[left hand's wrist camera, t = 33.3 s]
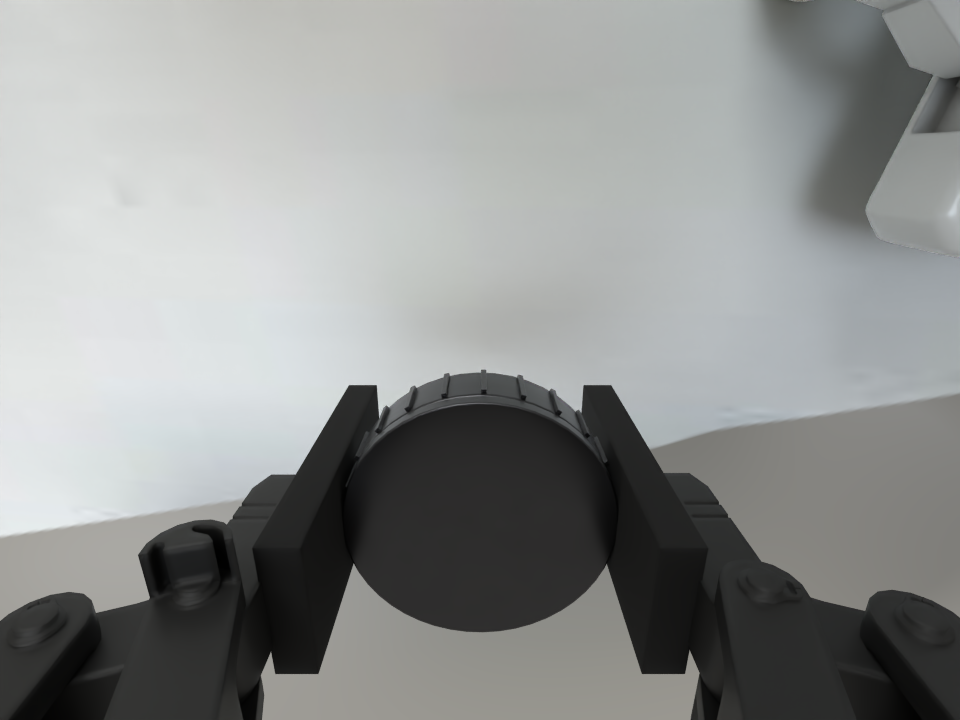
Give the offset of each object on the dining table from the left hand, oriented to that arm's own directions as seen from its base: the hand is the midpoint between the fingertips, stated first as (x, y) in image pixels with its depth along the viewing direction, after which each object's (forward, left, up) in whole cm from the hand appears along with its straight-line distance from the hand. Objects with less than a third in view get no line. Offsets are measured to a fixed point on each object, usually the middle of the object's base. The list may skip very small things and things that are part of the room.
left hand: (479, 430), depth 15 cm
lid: (0, 0, +4) cm, 4 cm away
